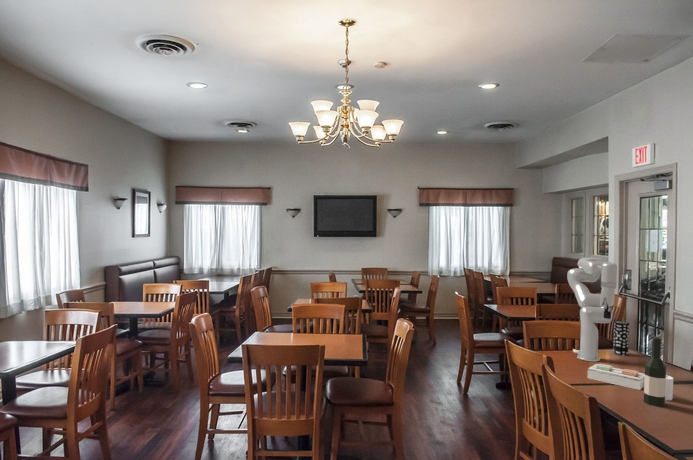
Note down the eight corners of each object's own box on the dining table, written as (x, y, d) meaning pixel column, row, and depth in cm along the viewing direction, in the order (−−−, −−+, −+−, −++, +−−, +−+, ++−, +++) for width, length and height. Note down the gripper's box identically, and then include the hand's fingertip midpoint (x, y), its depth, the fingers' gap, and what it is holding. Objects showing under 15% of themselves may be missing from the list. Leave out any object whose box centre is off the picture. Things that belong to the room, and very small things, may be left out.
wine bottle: (662, 401, 221) (664, 336, 221) (667, 407, 213) (670, 340, 213) (641, 398, 224) (644, 334, 223) (645, 404, 216) (648, 337, 215)
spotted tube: (624, 352, 310) (625, 321, 310) (630, 356, 302) (631, 324, 302) (610, 351, 311) (611, 320, 311) (616, 355, 303) (617, 323, 302)
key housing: (587, 378, 253) (587, 368, 253) (595, 372, 263) (596, 363, 263) (639, 390, 236) (640, 379, 236) (646, 383, 246) (646, 374, 246)
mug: (674, 401, 221) (675, 380, 221) (652, 398, 225) (653, 377, 224) (668, 393, 232) (669, 373, 232) (647, 390, 236) (648, 370, 236)
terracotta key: (621, 376, 245) (622, 370, 245) (624, 374, 250) (625, 368, 250) (635, 379, 241) (635, 373, 241) (638, 377, 245) (638, 371, 245)
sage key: (596, 371, 253) (596, 365, 253) (599, 369, 258) (599, 363, 258) (608, 373, 249) (609, 368, 249) (612, 371, 254) (612, 366, 254)
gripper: (605, 283, 276) (603, 315, 276) (597, 285, 265) (595, 318, 266) (619, 285, 271) (618, 317, 271) (612, 287, 260) (610, 321, 260)
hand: (607, 318), depth 268 cm, fingers closed
